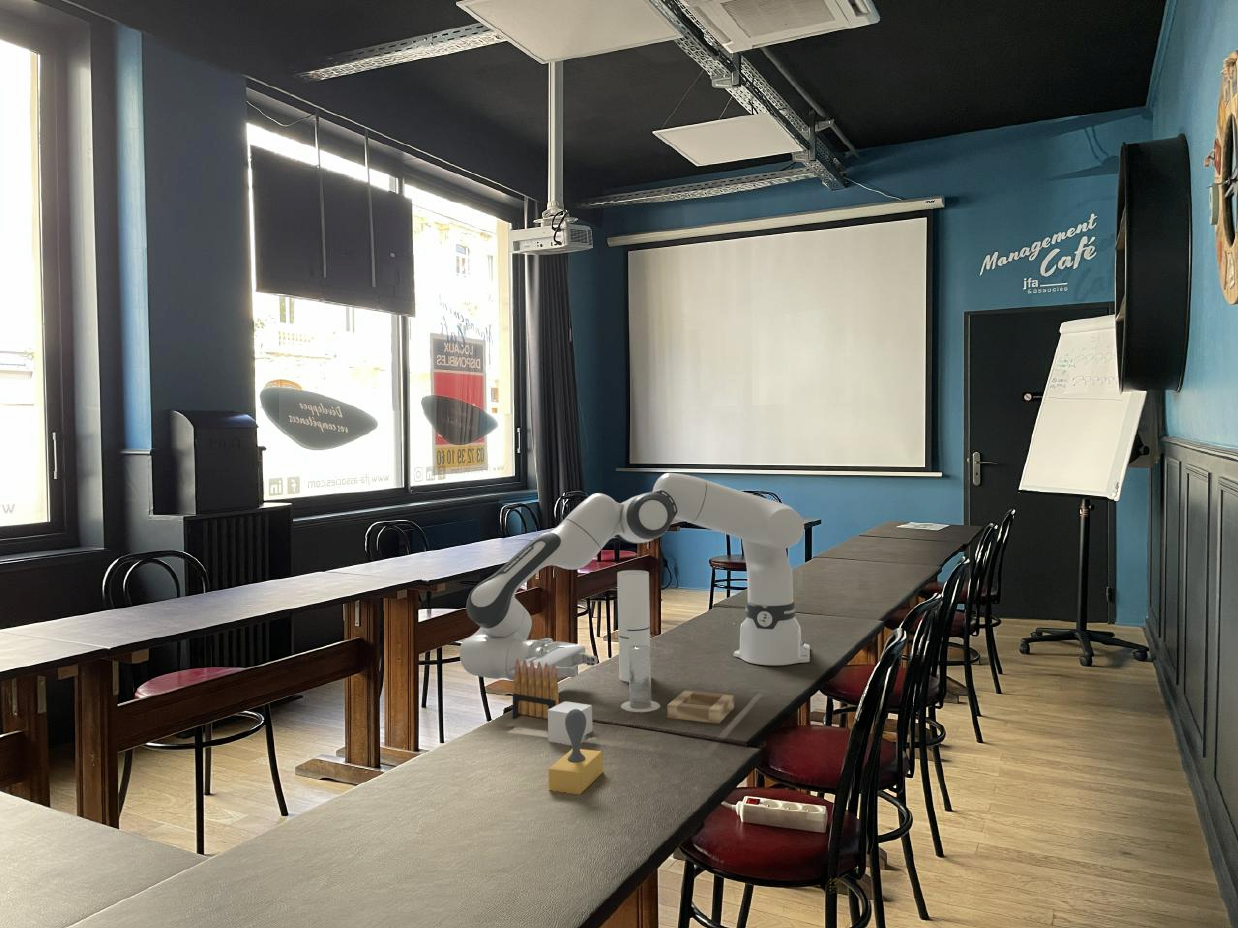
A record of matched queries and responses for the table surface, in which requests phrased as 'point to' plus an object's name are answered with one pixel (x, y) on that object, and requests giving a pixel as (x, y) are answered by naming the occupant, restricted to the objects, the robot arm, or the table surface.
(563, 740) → the light grey cube
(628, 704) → the stand disc
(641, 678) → the clear glass tube
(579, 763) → the rubber stamp
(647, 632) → the cylindrical container
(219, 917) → the table surface
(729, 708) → the beige wooden square frame
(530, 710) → the ammunition clip
